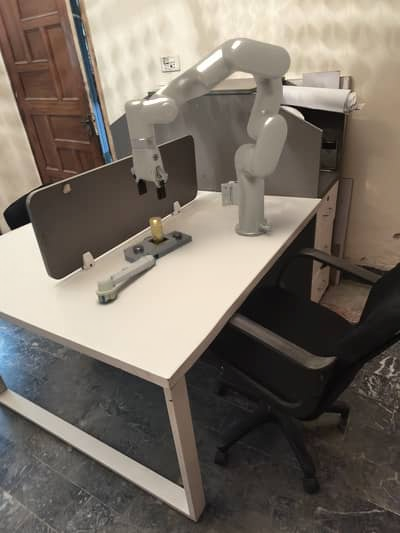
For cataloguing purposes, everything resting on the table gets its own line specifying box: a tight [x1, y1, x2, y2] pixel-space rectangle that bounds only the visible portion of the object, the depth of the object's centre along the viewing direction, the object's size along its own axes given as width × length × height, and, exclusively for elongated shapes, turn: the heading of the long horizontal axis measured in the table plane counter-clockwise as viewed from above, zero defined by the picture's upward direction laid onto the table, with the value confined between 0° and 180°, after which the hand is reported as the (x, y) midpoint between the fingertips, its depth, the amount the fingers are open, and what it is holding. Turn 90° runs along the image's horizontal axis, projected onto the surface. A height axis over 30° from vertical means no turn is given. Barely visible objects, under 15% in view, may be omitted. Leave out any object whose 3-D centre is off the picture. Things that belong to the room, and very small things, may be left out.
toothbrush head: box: [95, 255, 157, 302], centre depth 113 cm, size 5×7×25 cm
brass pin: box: [149, 216, 164, 245], centre depth 129 cm, size 4×4×12 cm
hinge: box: [220, 180, 238, 207], centre depth 163 cm, size 14×5×10 cm, turn 77°
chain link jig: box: [123, 230, 193, 264], centre depth 130 cm, size 24×9×5 cm, turn 137°
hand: (152, 196), depth 122 cm, fingers open, 9 cm apart
